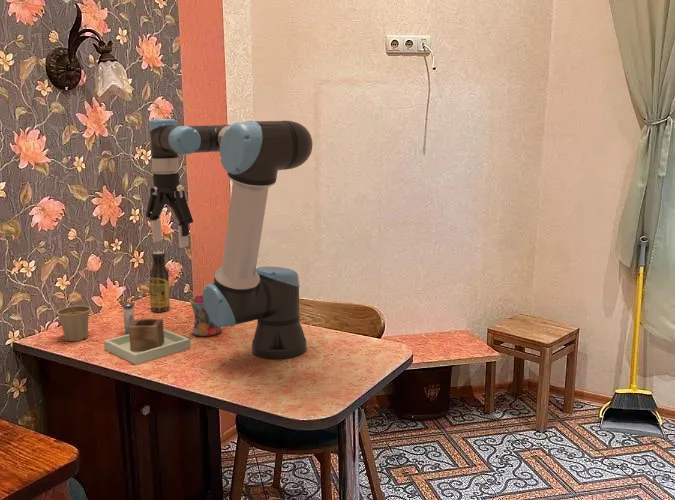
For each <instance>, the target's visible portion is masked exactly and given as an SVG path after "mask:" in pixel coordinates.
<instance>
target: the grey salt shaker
mask: <svg viewBox="0 0 675 500" xmlns="http://www.w3.org/2000/svg"><path fill="white" fill-rule="evenodd" d="M134 307H135V303H134V302H132V301H131V302H124V303H122V304H121V308H122V310H123V311H122V312H123V322H124V335H127V334H129V327H130V325H131V324H132V323H133V322H134V321H135V320H136V318H135V309H134Z"/></svg>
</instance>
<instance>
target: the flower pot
mask: <svg viewBox="0 0 675 500" xmlns="http://www.w3.org/2000/svg"><path fill="white" fill-rule="evenodd" d="M91 310H92V308H91V307H90V306H88V305H71V306H66V307H61V308H60V309H57V310H56V315H57V316H58V319H59V321H60V323H61V328H62V332H63V335H64V339H65V340H66V341H70V342H76V341H77V342H78V341H82V340H84V339H87V338H88V335H89V318H90V311H91Z"/></svg>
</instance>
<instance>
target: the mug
mask: <svg viewBox="0 0 675 500" xmlns="http://www.w3.org/2000/svg"><path fill="white" fill-rule="evenodd" d="M188 301H189V303H190V306H191V308H192V310H193V314H194V315H193V316H194V326H193V329H192V334H194V335H196V336H200V337H209V336H210V337H211V336H215V335H217V334H219V333H220V332H221V331H222V327H219V326H217V325H215V324H214V323H213V322H212V321H211V319H210V318H209V316H208V314H207V312H206V309H205V306H204V302H203V294H202V295H196V296H193V297H191V298H189V300H188Z"/></svg>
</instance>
